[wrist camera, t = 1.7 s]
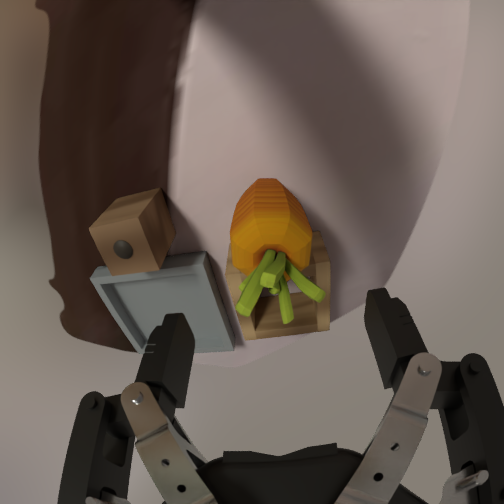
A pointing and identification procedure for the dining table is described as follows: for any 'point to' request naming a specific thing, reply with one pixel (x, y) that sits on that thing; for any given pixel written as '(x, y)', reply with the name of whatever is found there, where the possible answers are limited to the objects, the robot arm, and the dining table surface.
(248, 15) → the dining table surface
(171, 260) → the tray
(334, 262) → the dining table surface
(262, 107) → the dining table surface
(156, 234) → the walnut block
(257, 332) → the wooden crate
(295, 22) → the dining table surface
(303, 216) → the carrot
